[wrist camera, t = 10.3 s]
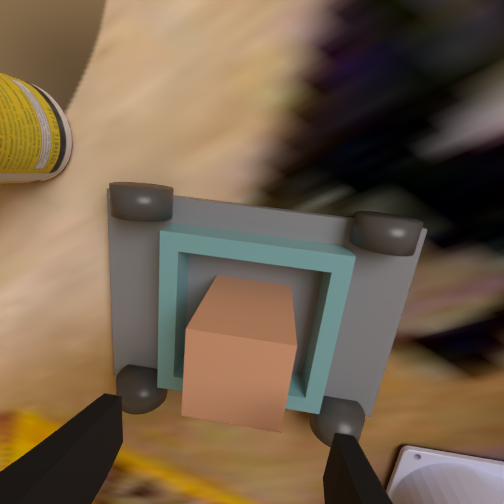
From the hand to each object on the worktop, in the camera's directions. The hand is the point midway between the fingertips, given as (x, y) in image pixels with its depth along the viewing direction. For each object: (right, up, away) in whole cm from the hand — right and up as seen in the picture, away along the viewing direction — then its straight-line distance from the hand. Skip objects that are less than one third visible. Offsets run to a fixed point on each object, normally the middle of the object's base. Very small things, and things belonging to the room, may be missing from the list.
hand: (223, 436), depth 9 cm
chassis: (+1, +3, +9) cm, 9 cm away
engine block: (+1, +2, +8) cm, 9 cm away
